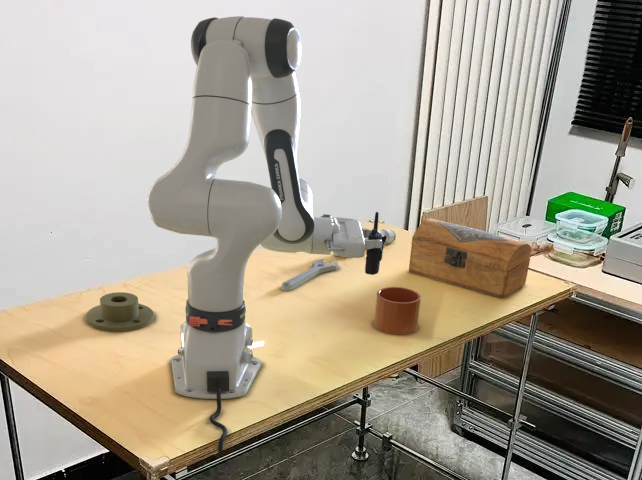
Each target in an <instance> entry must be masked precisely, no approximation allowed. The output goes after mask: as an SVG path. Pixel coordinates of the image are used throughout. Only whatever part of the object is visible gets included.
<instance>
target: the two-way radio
mask: <svg viewBox="0 0 642 480" xmlns="http://www.w3.org/2000/svg"><path fill="white" fill-rule="evenodd" d="M379 216H380V215H379V211H376V212H375V213H374V222H373V228H372V229H371V230H372V232H371V233H370V234H369V236H368V240H375V239H381V240H382V248H372V249H366V251H365V254H366V256H365V267H364V273H365V274H366V275H372V276H375V275H377V274H379V271H380V266H381V265H380V264H381V261H382V260H383V253H384V246H385V245H384V243H385V241H386V239H387V236H385V235H384V237H382V234H380V233H379V232H377V231H379V230H378V229H379Z"/></svg>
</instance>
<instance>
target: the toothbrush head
mask: <svg viewBox="0 0 642 480" xmlns="http://www.w3.org/2000/svg"><path fill="white" fill-rule="evenodd" d="M378 231H379V233H380V234H382V237H384V235H385V236H387V239H386V241H385V243H384V246H385V245H387V244H392V243H394V242H395V241H396V237H397V234H396V233H395V231H394V230H392V229H385V228H384V229H381V230H378ZM364 239H368V238H366V237H365V238H364ZM333 255H334V256H336V257H341V258H342V257H343V256H338V255H335V254H333Z"/></svg>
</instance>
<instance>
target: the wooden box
mask: <svg viewBox="0 0 642 480" xmlns="http://www.w3.org/2000/svg"><path fill="white" fill-rule="evenodd" d="M410 247H411V248H410V254H409V255H410V256H409V265H408V272H409V273H411V274H415V275H420V276H422V277H426V278H430V279H433V280H436V281H439V282H443V283H446V284H449V285H454V286H458V287H462V288H466V289H469V290H473V291H474V292H478V293H482V294H486V295H488V296H492V297H496V298H499V299H504V298H506V297H507V296H509V295H511V294H513V293H514V292H516V291H517V290H519V289H520V288H521V287H523V286H525V285H526V282H527V278H528V272H529V268H530V263H531V256H532V247H531V245H530V244H529V243H527V242H525V241H521V240H517V239H513V238H509V237H505V236H502V235H498V234H495V233H492V232H488V231H485V230H480V229H476V228H473V227H469V226H466V225H461V224H456V223H452V222H447V221H442V220H438V219H434V218H431V217H430V218H426V219H424V220H423V221H422V222H420V224H419V226H418V227H417V228H416V230H415V231H414V233H413V235H412V237H411V246H410Z"/></svg>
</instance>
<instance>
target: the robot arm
mask: <svg viewBox="0 0 642 480" xmlns="http://www.w3.org/2000/svg"><path fill="white" fill-rule="evenodd" d="M190 48H191V49H190V51H191V55H192V59H193V61H194V63H195V64H196V69H195V74H194V80H193V86H192V87H193V89H192V99H191V101H192V102H191V113H190V122H189V124H190V125H189V129H188V137H187V141H186V145H185V147H184V149H183V150H182V151H183V152H182V153H181V156H180V157H179V158H178V160H177V161H176V163H175V164H174V165H173V166H172V167H171V169H169V170H168V171H167V172H165V174H163V175H161V176H159V177H158V178H157V179H156V180H155V181H154V182H153V183H152V185H151V186H150V188H149V190H148V192H147V197H146V208H147V212H148V216H149V217H150V220H151V221H152V223H153V224H154V225H155V226H156V227H157V228H160V229H163V230H166V231H169V232H172V233H175V234H176V233H177V234H180V235H189V236H190V235H191V236H201V237H210V238H213V239H215V240H216V247H214V248H211V249H209V250H205V251H203V252H202V253H199V254H198V255H196V256H194V257H193V258H192V259H191V261H190V262H189V264H188V266H187V270H186V271H187V272H186V274H187V300H186V301H185V321H184V322H183V323H181V324H180V327H179V328H180V347H178V349H177V354H176V355H173V356H171V359H170V364H171V371H172V372H171V373H172V378H173V385H174V392H175V393H176V394H177V395H180V396H184V397H187V398H193V399H195V398H196V399H207V400H216V411H215V412H214V413H213V414H211V415H210V416H209V419H208V420H209V422H210V424H211V425H213V426H215V427H216V428H219V429H221V431H222V433H221V435H220V437H219V438H218V439H219V440H218V446H217V447H218V448H217V452H218V453H223V449H224V441H225V439H226V437H227V436H228V429H227V427H226V425H224V424H222V423H220V422H218V421H217V420H215V419H216V418H218V416H219V415H220V414H221V411H222V400H226V399H228V400H229V399H235V398H240V397H244V396H246V395H247V394H248V392H249V390H250V388H251V386H252V384H253V382H254V381H255V378H256V376H257V374H258V373H259V370H260V369H261V367H262V360H261V359H260V358H258V357H256V356H254V354H253V352H254V350H253V349H254V348H258V347H263V346H265V341H264V340H261V341H255V342H254V340H253V328H252V326H250V325H249V324H248V322H247V321H246V312H247V310H246V309H247V308H246V301H245V300H244V283H245V273H246V268H247V263H248V262H249V260H250V257H251V256H252V254H253V253H254V251H255V250H256V249H257V248H258V247H259V245H260V246H261V247H262V248H263V249H265V250H268V251H271V252H277V253H285V254H286V253H287V254H297V253H305V254H309V255H323V256H330V255H331V254H333V255H334V254H335V255H334V256H336V255H338V256H337V257H340V256H342V257H345V258H352V259H353V258H354V259H360V258H364V257H365V254H366V250H367V249H372V248H382V240H381V239H375V240H368V239H364V238H365V237H366V238H368V236H369V234H370V233H371V232H372V229H370V228H363V227H362V226H361V222H360V220H357V219H354V218H349V217H342V216H332V214H325V213H324V214H322V215H320V216H314V197H313V192H312V189H311V187H310V185H309V183H308V182H306V181H305V180H303V179H302V178H300V176H299V169H298V163H297V162H298V161H297V159H298V158H297V154H298V142H299V134H300V126H301V125H300V124H301V96H300V89H299V84H298V79H297V74H296V70H297V69H298V68H299V66H300V64H301V59H302V40H301V36H300V32H299V31H298V29H297V28H296V27H295V26H294V25H293V23H292V22H291V21H288V20H286V19H281V18H277V17H275V18H272V19H271V18H263V17H253V16H251V17H249V16H245V15H238V16H227V17H220V18H219V17H214V16H213V17H209V18H206V19H202V20H201V21H199V22H198V23H197V24H196V26H195V27H194V28H193V31H192V33H191V38H190ZM251 117H252V120H253V123H254V126H255V129H256V131H257V135H258V138H259V141H260V144H261V147H262V150H263V154H264V156H265V160H266V165H267V169H268V170H267V171H268V175H269V182H270V187H269V186H265V185H263V184H259V183H255V182H252V181H246V180H234V179H225V178H216V175H217V171H218V169H219V168H220V167H221V166H222V165H223V164H225V163H228V162H230V161H232V160H235V159H237V158H239V157H240V156H242V155H243V154H244V153H245V152H246V150H247V149H248V147H249V144H250V132H251ZM379 231H380V230H377V232H379Z"/></svg>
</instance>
